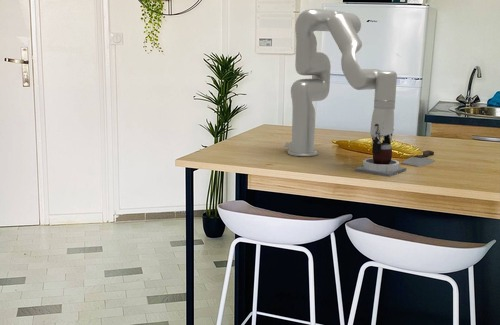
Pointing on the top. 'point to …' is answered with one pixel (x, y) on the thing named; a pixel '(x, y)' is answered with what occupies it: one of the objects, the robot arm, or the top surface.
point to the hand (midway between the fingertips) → (381, 152)
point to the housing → (380, 168)
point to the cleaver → (419, 159)
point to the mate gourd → (383, 155)
